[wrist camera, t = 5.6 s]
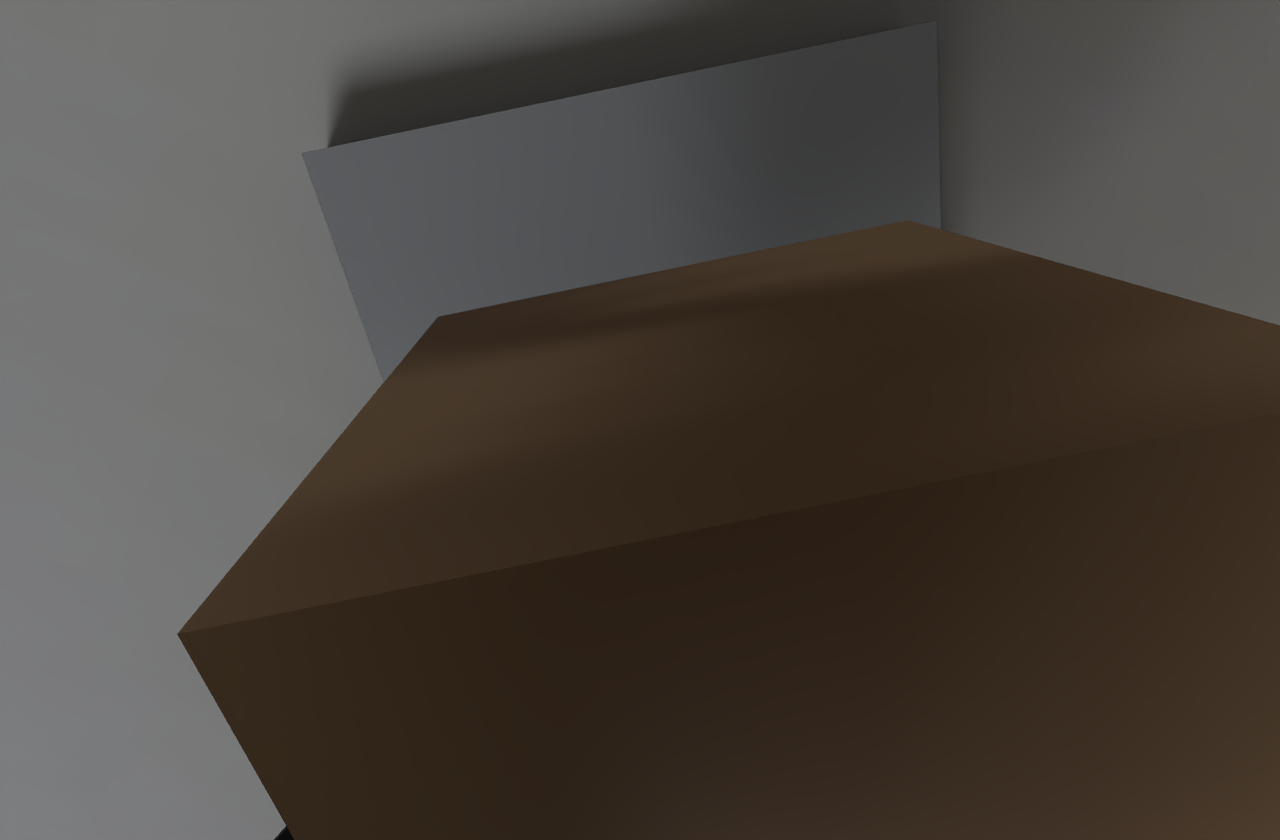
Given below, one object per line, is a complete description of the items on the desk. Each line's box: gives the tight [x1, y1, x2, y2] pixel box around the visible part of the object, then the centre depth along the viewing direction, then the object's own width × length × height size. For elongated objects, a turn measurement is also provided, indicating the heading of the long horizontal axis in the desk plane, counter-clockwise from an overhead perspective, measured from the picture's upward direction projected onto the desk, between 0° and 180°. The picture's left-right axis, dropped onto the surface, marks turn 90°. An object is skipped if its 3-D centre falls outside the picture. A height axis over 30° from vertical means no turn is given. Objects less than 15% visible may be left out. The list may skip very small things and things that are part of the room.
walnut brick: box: [178, 220, 1280, 840], centre depth 6 cm, size 5×7×5 cm
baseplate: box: [302, 20, 941, 382], centre depth 15 cm, size 11×11×1 cm
